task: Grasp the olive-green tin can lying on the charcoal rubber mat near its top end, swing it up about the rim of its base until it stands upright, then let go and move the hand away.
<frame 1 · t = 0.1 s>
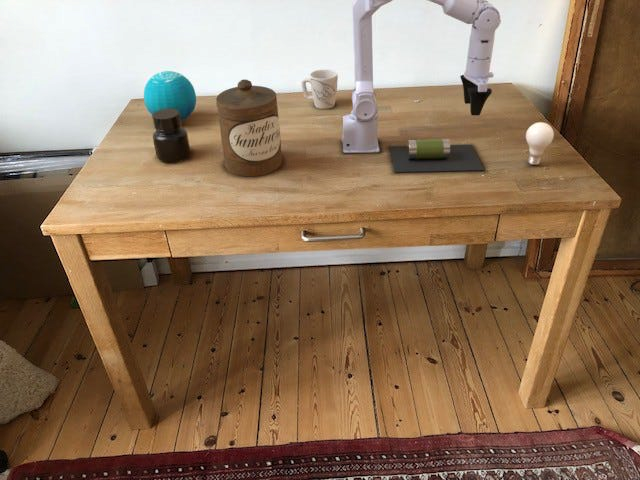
hand: (471, 108, 141), 10 cm above the table, tool pointing down, fingers open, 7 cm apart
decorative orb: (175, 121, 166), on the table
can: (428, 149, 140), point 3 cm above the table, hinge at 90.1°
ink bottle: (174, 156, 147), on the table
mat: (434, 158, 141), on the table
lightbulb: (533, 164, 137), on the table
mug: (320, 105, 173), on the table
wooden container: (253, 163, 142), on the table
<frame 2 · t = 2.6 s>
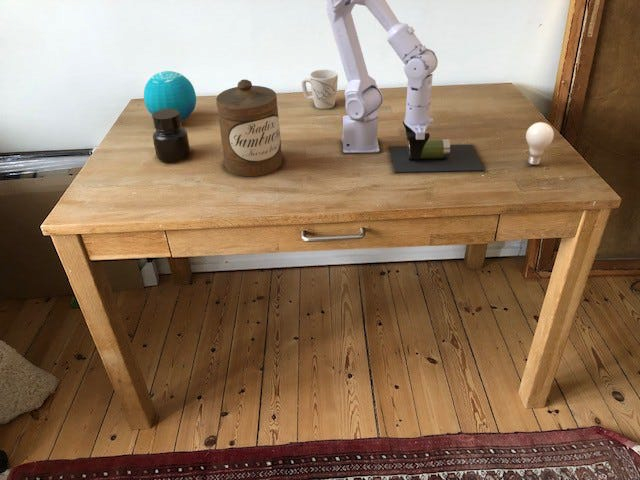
hand: (414, 153, 140), 2 cm above the table, tool pointing down, fingers closed on can, 5 cm apart
can: (428, 149, 140), point 3 cm above the table, hinge at 90.1°, touching gripper
everything else where it was.
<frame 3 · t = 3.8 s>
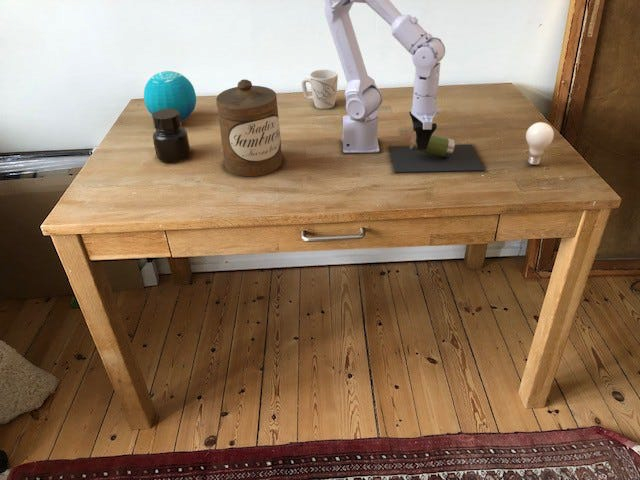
hand: (420, 144, 139), 4 cm above the table, tool pointing down, fingers closed on can, 5 cm apart
can: (431, 144, 139), point 4 cm above the table, hinge at 74.1°, touching gripper
everything else where it was.
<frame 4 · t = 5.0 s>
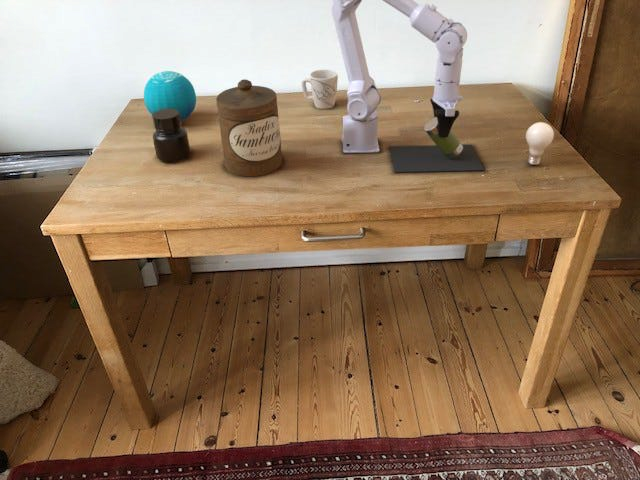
hand: (441, 132, 137), 7 cm above the table, tool pointing down, fingers closed on can, 5 cm apart
can: (443, 137, 138), point 6 cm above the table, hinge at 40.0°, touching gripper
everything else where it was.
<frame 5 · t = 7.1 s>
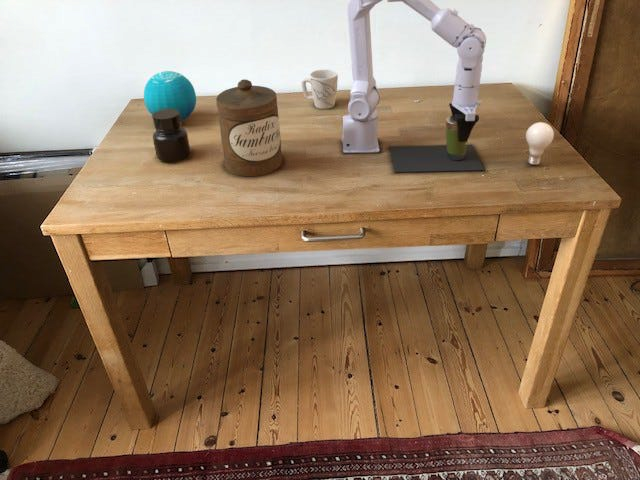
hand: (460, 136, 137), 6 cm above the table, tool pointing down, fingers closed on can, 5 cm apart
can: (456, 137, 138), point 6 cm above the table, hinge at 7.7°, touching gripper
everything else where it was.
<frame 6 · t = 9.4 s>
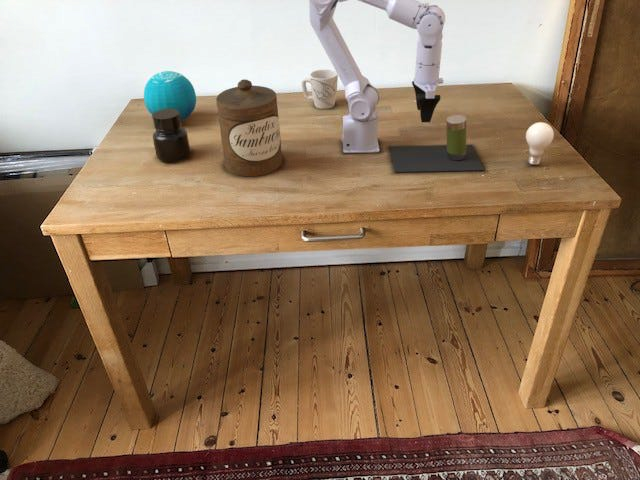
hand: (423, 115, 138), 10 cm above the table, tool pointing down, fingers open, 7 cm apart
can: (456, 137, 138), point 6 cm above the table, hinge at 7.1°
everything else where it was.
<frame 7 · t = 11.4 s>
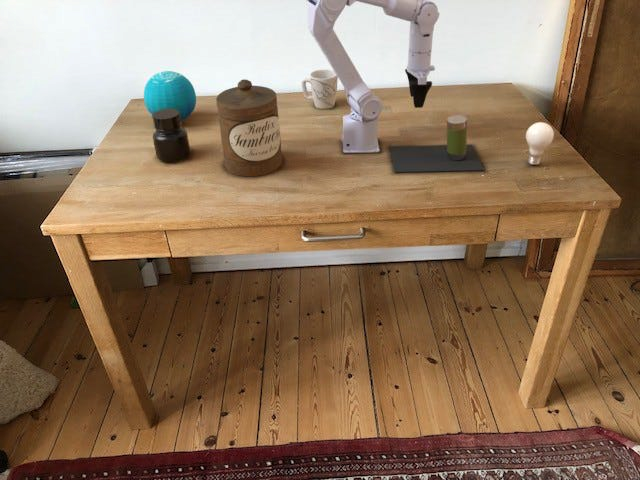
hand: (416, 101, 146), 10 cm above the table, tool pointing down, fingers open, 7 cm apart
can: (456, 138, 138), point 6 cm above the table, hinge at 6.2°
everything else where it was.
at the end: can at +6° (first picture: +90°); the gripper is holding nothing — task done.
